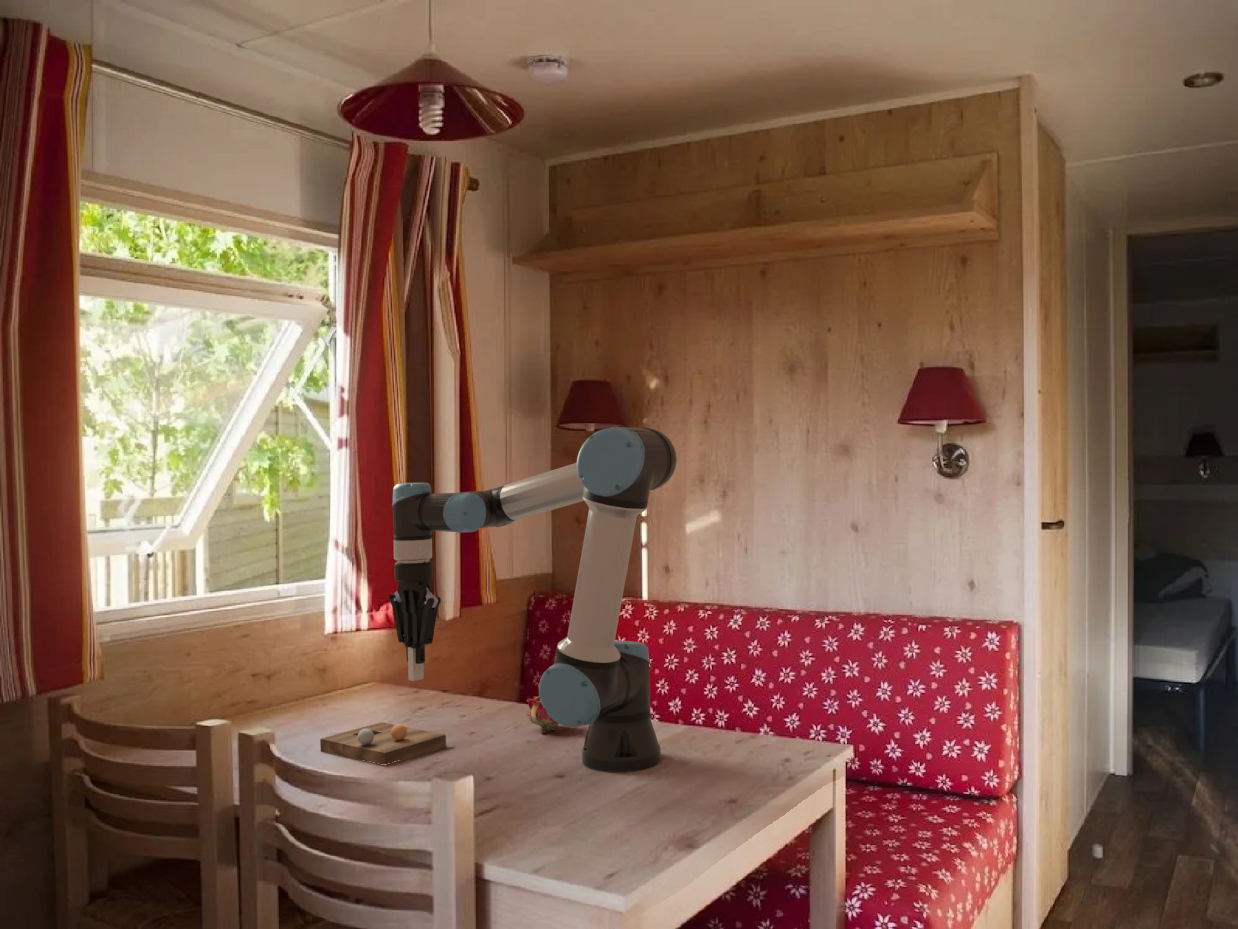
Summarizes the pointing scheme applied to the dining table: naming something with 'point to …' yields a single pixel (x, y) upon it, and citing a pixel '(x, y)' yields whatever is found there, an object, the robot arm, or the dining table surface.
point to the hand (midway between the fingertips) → (416, 679)
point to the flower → (540, 715)
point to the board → (383, 744)
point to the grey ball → (365, 736)
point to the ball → (399, 732)
